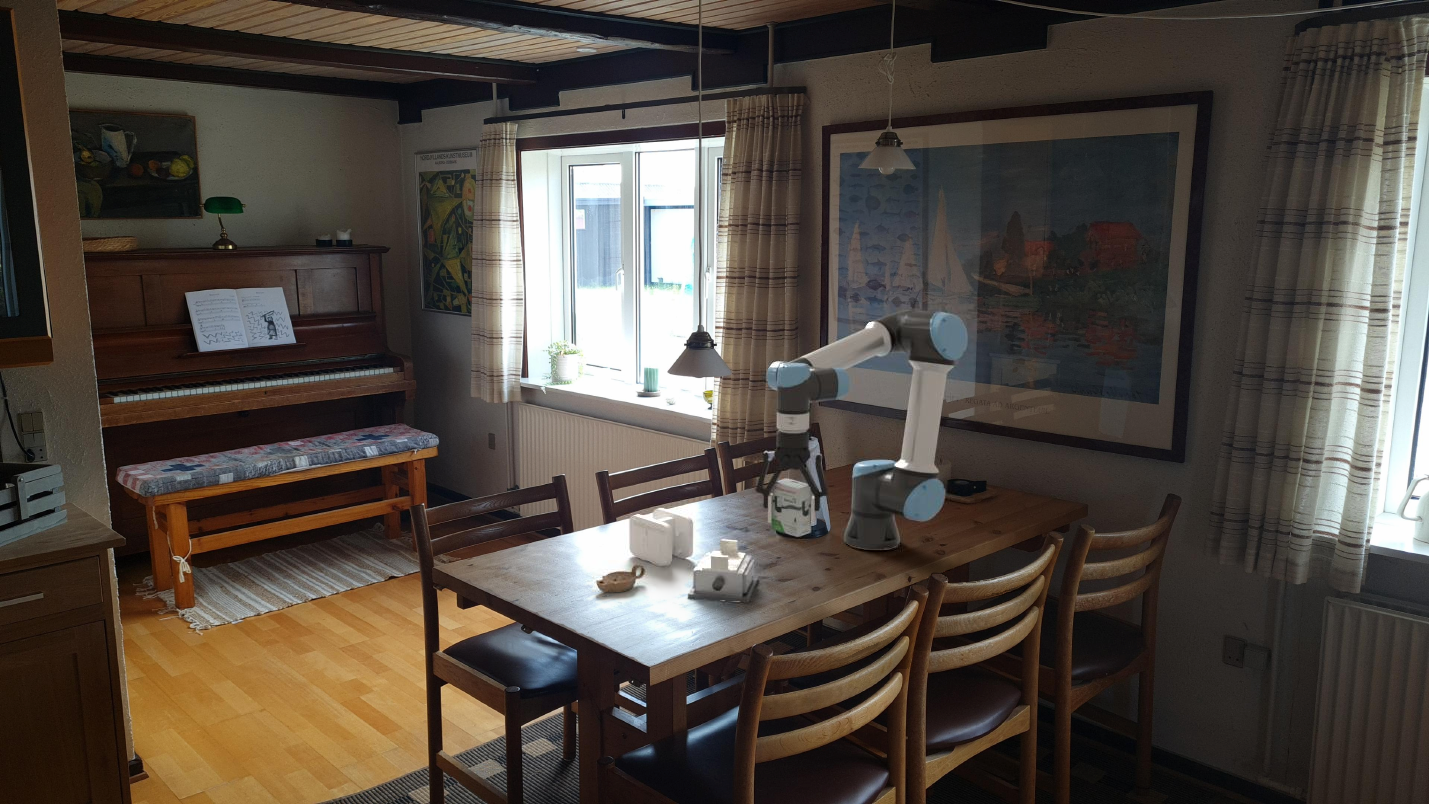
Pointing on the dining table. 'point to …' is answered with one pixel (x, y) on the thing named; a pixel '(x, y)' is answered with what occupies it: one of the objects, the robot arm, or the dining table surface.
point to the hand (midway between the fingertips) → (791, 522)
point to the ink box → (791, 507)
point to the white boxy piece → (724, 575)
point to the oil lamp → (620, 580)
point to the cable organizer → (661, 536)
